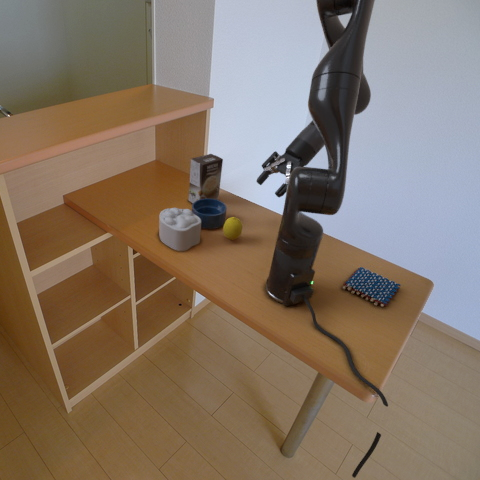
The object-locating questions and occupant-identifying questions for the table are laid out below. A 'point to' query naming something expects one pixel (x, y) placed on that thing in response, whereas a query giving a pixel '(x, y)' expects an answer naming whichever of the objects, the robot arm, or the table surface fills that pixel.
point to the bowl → (210, 212)
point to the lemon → (232, 228)
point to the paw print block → (179, 228)
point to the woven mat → (371, 286)
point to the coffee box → (205, 177)
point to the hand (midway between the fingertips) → (267, 189)
